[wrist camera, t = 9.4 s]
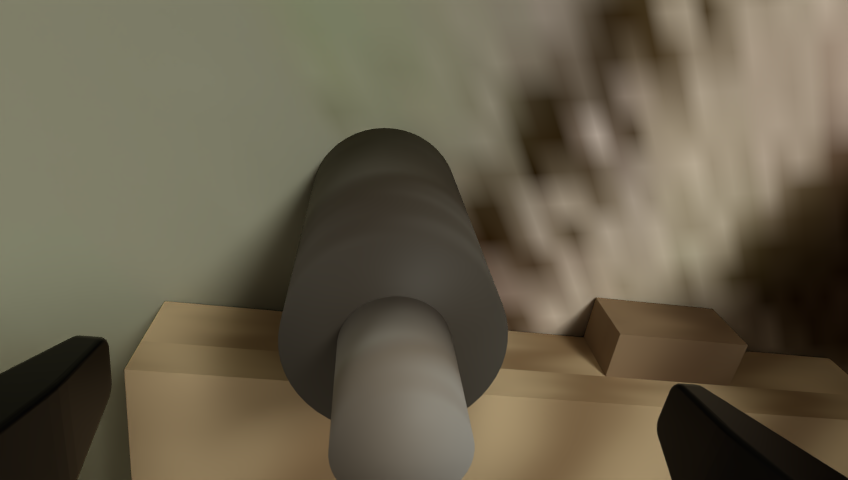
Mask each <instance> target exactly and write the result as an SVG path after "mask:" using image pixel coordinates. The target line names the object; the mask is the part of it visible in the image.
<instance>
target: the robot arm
mask: <svg viewBox="0 0 848 480" xmlns="http://www.w3.org/2000/svg"><path fill="white" fill-rule="evenodd" d="M111 385H112V380H111V368H110V355H109V345H108V343H107V340H105V339H104V338H102V337H92V336H74V337H72V338H70V339H68V340H66V341H64V342H62V343H60V344H58V345H56V346H54V347H52V348H50V349H48V350H46V351H44V352H42V353H40V354H38V355H36V356H34V357H32V358H30V359H28V360H26V361H24V362H22V363H20V364H18V365H16V366H14V367H12V368H10V369H9V370H7V371H5V372H3V373H1V374H0V480H77V478H78V476H79V473H80V471H81V468H82V466H83V463H84V461H85V458H86V455H87V453H88V450H89V448H90V445H91V443H92V440H93V438H94V435H95V433H96V430H97V427H98V425H99V422H100V420H101V417H102V415H103V412H104V410H105V407H106V405H107V402H108V399H109V396H110V392H111ZM657 435H658V439H659V442H660V445H661V448H662V451H663V454H664V458H665V461H666V464H667V467H668V470H669V473H670V476H671V480H848V478H847V477H846V476H844V475H842V474H841V473H839V472H838V471H836V470H834V469H833V468H831V467H830V466H828V465H826V464H825V463H823V462H822V461H820V460H818V459H817V458H815V457H814V456H812V455H811V454H809V453H807V452H806V451H804V450H803V449H801V448H799V447H798V446H796V445H795V444H793V443H791V442H790V441H788V440H787V439H785V438H783V437H782V436H780V435H779V434H777V433H776V432H774V431H772V430H771V429H769V428H768V427H766V426H764V425H763V424H761V423H760V422H758V421H756V420H755V419H753V418H752V417H750V416H748V415H747V414H745V413H744V412H742V411H740V410H739V409H737V408H736V407H734V406H733V405H731V404H729V403H728V402H726V401H725V400H723V399H721V398H720V397H718V396H717V395H715V394H713V393H712V392H710V391H709V390H707V389H705V388H704V387H702V386H700V385H696V384H683V383H678V384H675V385H674V386H673V387H672V388H671V389H670V391H669V394H668V396H667V398H666V401H665V403H664V406H663V408H662V410H661V413H660V415H659V418H658V421H657Z"/></svg>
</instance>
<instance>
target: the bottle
mask: <svg viewBox="0 0 848 480" xmlns="http://www.w3.org/2000/svg"><path fill="white" fill-rule="evenodd" d="M507 343H508V326H507V319H506V315H505V311H504V308H503V305H502V302H501V300H500V297H499V294H498V292H497V289H496V287H495V284H494V281H493V279H492V276H491V274H490V271H489V268H488V266H487V263H486V261H485V258H484V255H483V253H482V250H481V248H480V245H479V242H478V240H477V237H476V235H475V232H474V229H473V227H472V224H471V221H470V219H469V216H468V214H467V211H466V208H465V206H464V203H463V201H462V198H461V195H460V193H459V190H458V188H457V185H456V182H455V180H454V177H453V175H452V172H451V170H450V168H449V166H448V164H447V162H446V160H445V159H444V157H443V156H442V155H441V154H440V153H439V151H438V150H437V149H436V148H435V147H433V146H432V145H431V144H430V143H429V142H427V141H426V140H424V139H423V138H421V137H419V136H417V135H415V134H412V133H410V132H407V131H403V130H398V129H390V128H379V129H371V130H366V131H362V132H359V133H356V134H354V135H352V136H350V137H348V138H346V139H345V140H343V141H342V142H340V143H339V144H338V145H337V146H335V147H334V148H333V149H332V150H331V151H330V152H329V153H328V155H327V156H326V157H325V159H324V160H323V162H322V163H321V165H320V167H319V169H318V171H317V174H316V177H315V180H314V184H313V188H312V193H311V197H310V201H309V205H308V209H307V213H306V217H305V222H304V226H303V230H302V234H301V238H300V242H299V246H298V251H297V255H296V259H295V263H294V267H293V271H292V275H291V280H290V284H289V288H288V292H287V296H286V300H285V304H284V309H283V313H282V317H281V321H280V326H279V333H278V350H279V356H280V361H281V364H282V367H283V370H284V373H285V375H286V377H287V379H288V381H289V382H290V384H291V386H292V387H293V388H294V390H295V391H296V393H297V394H298V395H299V396H300V397H301V398H302V399H303V400H304V401H305V402H306V403H307V404H308V405H309V406H310V407H312V408H313V409H314V410H315V411H317V412H318V413H320V414H322V415H323V416H325V417H326V418H328V419H330V420H331V424H330V436H329V449H328V459H329V465H330V468H331V471H332V473H333V475H334V477H335V478H336V479H337V480H461V479H462V478H463V477H464V475H465V474H466V473H467V471H468V469H469V467H470V466H471V463H472V460H473V457H474V451H475V443H474V438H473V433H472V428H471V424H470V419H469V414H468V410H467V408H468V407H470V406H471V405H472V404H473V403H474V402H475V401H477V400H478V399H479V398H480V397H481V396H482V395H483V394H484V392H485V391H486V390H487V389H488V388H489V387H490V385H491V384H492V382H493V381H494V379H495V378H496V376H497V374H498V372H499V370H500V368H501V366H502V363H503V360H504V357H505V354H506V349H507Z"/></svg>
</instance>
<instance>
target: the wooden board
mask: <svg viewBox="0 0 848 480" xmlns="http://www.w3.org/2000/svg"><path fill="white" fill-rule="evenodd" d="M282 313H283V311H272V310H261V309H249V308H237V307H226V306H214V305H202V304H191V303H179V302H168V301H165V302H164V303H163V305H162V307H161V308H160V310H159V312H158V313H157V315H156V317H155V318H154V320H153V322H152V323H151V325H150V327H149V329H148V330H147V332H146V334H145V335H144V337H143V339H142V340H141V342H140V344H139V345H138V347H137V349H136V350H135V352H134V354H133V356H132V357H131V359H130V361H129V362H128V364H127V366H126V367H125V369H124V373H125V388H126V403H127V417H128V432H129V447H130V462H131V476H132V480H337V479H336V478H335V477H334V475H333V473H332V471H331V468H330V465H329V459H328V449H329V436H330V424H331V420H330V419H328V418H326V417H325V416H323V415H322V414H320V413H318V412H317V411H315V410H314V409H313V408H312V407H310V406H309V405H308V404H307V403H306V402H305V401H304V400H303V399H302V398H301V397H300V396H299V395H298V394H297V393H296V391H295V390H294V388H293V387H292V386H291V384H290V382H289V381H288V379H287V377H286V375H285V373H284V370H283V367H282V364H281V361H280V356H279V350H278V333H279V326H280V321H281V317H282ZM747 347H748V345H747V344H746V343H745V342H744V341H743V340H742V339H741V338H740V337H739V336H738V335H737V333H736V332H735V331H734V330H733V329H732V328H731V327H730V326H729V325H728V324H727V323H726V322H725V321H724V320H723V319H722V318H721V317H720V316H719V315H718V314H717V313H716V312H715V311H714V310H713V309H708V308H697V307H687V306H677V305H666V304H656V303H646V302H635V301H625V300H614V299H604V298H596V300H595V303H594V306H593V309H592V312H591V315H590V318H589V321H588V324H587V328H586V331H585V334H584V337H574V336H563V335H551V334H539V333H528V332H516V331H508V343H507V349H506V354H505V357H504V360H503V363H502V366H501V368H500V370H499V372H498V374H497V376H496V378H495V379H494V381H493V382H492V384H491V385H490V387H489V388H488V389H487V390H486V391H485V392H484V394H483V395H482V396H481V397H480V398H479V399H478V400H477V401H475V402H474V403H473V404H472V405H471V406H470V407H468V408H467V410H468V414H469V419H470V424H471V428H472V433H473V438H474V443H475V451H474V457H473V460H472V463H471V466H470V467H469V469H468V471H467V473H466V474H465V475H464V477H463V478H462V479H461V480H671V476H670V473H669V470H668V467H667V464H666V461H665V458H664V454H663V451H662V448H661V445H660V442H659V439H658V435H657V421H658V418H659V415H660V413H661V410H662V408H663V406H664V403H665V401H666V398H667V396H668V394H669V391H670V389H671V388H672V387H673V386H674V385H675V384H678V383H683V384H696V385H700V386H702V387H704V388H705V389H707V390H709V391H710V392H712V393H713V394H715V395H717V396H718V397H720V398H721V399H723V400H725V401H726V402H728V403H729V404H731V405H733V406H734V407H736V408H737V409H739V410H740V411H742V412H744V413H745V414H747V415H748V416H750V417H752V418H753V419H755V420H756V421H758V422H760V423H761V424H763V425H764V426H766V427H768V428H769V429H771V430H772V431H774V432H776V433H777V434H779V435H780V436H782V437H783V438H785V439H787V440H788V441H790V442H791V443H793V444H795V445H796V446H798V447H799V448H801V449H803V450H804V451H806V452H807V453H809V454H811V455H812V456H814V457H815V458H817V459H818V460H820V461H822V462H823V463H825V464H826V465H828V466H830V467H831V468H833V469H834V470H836V471H838V472H839V473H841V474H842V475H844V476H846V477H847V478H848V374H847V373H845V372H844V371H843V370H842V369H841V368H840V367H839V366H837V365H836V364H835V363H834V362H833V361H832V360H830V359H829V358H818V357H807V356H795V355H784V354H772V353H760V352H749V351H746V349H747Z"/></svg>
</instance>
